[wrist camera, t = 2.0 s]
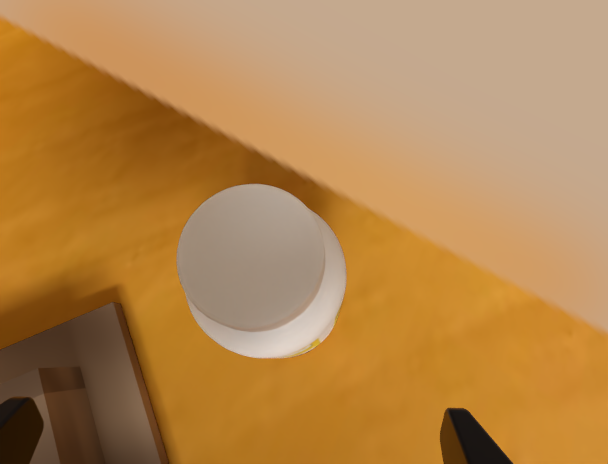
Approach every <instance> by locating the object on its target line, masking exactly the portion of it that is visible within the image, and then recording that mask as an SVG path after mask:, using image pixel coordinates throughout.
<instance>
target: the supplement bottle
mask: <svg viewBox="0 0 608 464" xmlns="http://www.w3.org/2000/svg"><path fill="white" fill-rule="evenodd" d="M177 270H178V275H179V279H180V283H181V285H182V287H183V289H184V291H185V294H186V299H187V302H188V305H189V308H190V310H191V313H192V314H193V316H194V318H195V320H196V322H197V323H198V324H199V326H200V327H201V328H202V330H203V331H204V332H205V333H206V334H207V335H208V336H209V337H210V338H212V339H213V340H214V341H216V342H217V343H218V344H220V345H221V346H223V347H224V348H226V349H228V350H230V351H233V352H235V353H238V354H241V355H244V356H248V357H253V358H289V357H295V356H298V355H302V354H304V353H307V352H309V351H310V350H312V349H314V348H315V347H317V346H318V345H319V344H320V343H321V342H322V341H323V340H325V338H326V337H327V336H328V335H329V334H330V332H331V330H332V329H333V327H334V325H335V324H336V321H337V319H338V316H339V313H340V309H341V305H342V302H343V298H344V294H345V289H346V264H345V258H344V254H343V251H342V248H341V246H340V243H339V241H338V239H337V237H336V235H335V234H334V232H333V231H332V229H331V228H330V227H329V225H328V224H327V223H326V222H325V221H324V220H323V219H322V218H321V217H320V216H319V215H317V214H316V213H314V212H313V211H312V210H310V209H309V208H307V207H306V205H305V204H304V203H303V202H301V201H300V200H299V199H298V198H296V197H295V196H293V195H292V194H290V193H289V192H286V191H284V190H282V189H280V188H277V187H273V186H270V185H264V184H245V185H238V186H234V187H231V188H228V189H225V190H223V191H221V192H219V193H217V194H215V195H213V196H212V197H210V198H209V199H207V200H206V201H205V202H204V203H202V204H201V205H200V206H199V207H198V208H197V209H196V211H195V212H194V213H193V214H192V215H191V217H190V218H189V220H188V221H187V223H186V225H185V227H184V229H183V231H182V233H181V236H180V239H179V244H178V249H177Z"/></svg>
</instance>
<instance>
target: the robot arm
mask: <svg viewBox="0 0 608 464" xmlns="http://www.w3.org/2000/svg"><path fill="white" fill-rule="evenodd" d="M43 428H44V420H43V418H42V416H41V414H40V411H39V409H38V407H37V405H36V403H35V401H34V399H33V398H31V397H20V396H15V397H11V398H9V399H7V400H6V401H4V402H3V403H1V404H0V464H30V462H31V459H32V457H33V454H34V452H35V449H36V447H37V445H38V442H39V440H40V437H41V435H42V432H43ZM440 444H441V450H442V456H443V462H444V464H513V463H512V462H511V460H510V459H509V458H508V457H507V456H506V455H505V453H504V452H503V451H502V450H501V449H500V448H499V446H498V445H497V444H496V443H495V442H494V440H493V439H492V438H491V437H490V436H489V435H488V433H487V432H486V431H485V430H484V429H483V428H482V426H481V425H480V424H479V423H478V422H477V421H476V419H475V418H474V417H473V416H472V415H471V413H470V412H469V411H468V410H466V409H464V408H447V409H446V410H445V413H444V418H443V422H442V427H441V431H440Z"/></svg>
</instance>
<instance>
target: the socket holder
mask: <svg viewBox="0 0 608 464" xmlns="http://www.w3.org/2000/svg"><path fill="white" fill-rule="evenodd" d="M15 396H20V397H31V398H33V399H34V401H35V403H36V405H37V407H38V409H39V411H40V414H41V416H42V418H43V420H44V428H43V432H42V435H41V437H40V440H39V442H38V445H37V447H36V449H35V452H34V454H33V457H32V459H31V462H30V464H169V462H168V459H167V456H166V452H165V449H164V446H163V442H162V439H161V436H160V433H159V429H158V426H157V423H156V419H155V416H154V413H153V409H152V406H151V403H150V400H149V396H148V393H147V390H146V386H145V383H144V380H143V376H142V373H141V370H140V367H139V363H138V360H137V357H136V353H135V350H134V347H133V343H132V340H131V337H130V334H129V330H128V327H127V324H126V320H125V317H124V314H123V310H122V307H121V304H118V303H115V302H112V303H110V304H107V305H105V306H102V307H100V308H98V309H95V310H93V311H91V312H88V313H86V314H84V315H81V316H79V317H77V318H74V319H72V320H69V321H67V322H65V323H62V324H60V325H58V326H55V327H53V328H51V329H48V330H46V331H44V332H41V333H39V334H36V335H34V336H32V337H29V338H27V339H25V340H22V341H20V342H18V343H15V344H13V345H10V346H8V347H6V348H3V349H1V350H0V404H1V403H3V402H4V401H6V400H7V399H9V398H11V397H15Z"/></svg>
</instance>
